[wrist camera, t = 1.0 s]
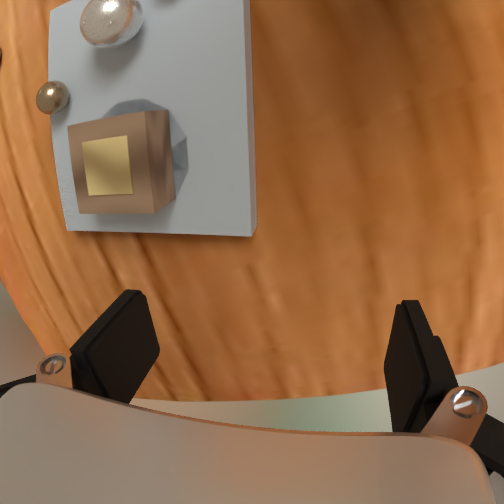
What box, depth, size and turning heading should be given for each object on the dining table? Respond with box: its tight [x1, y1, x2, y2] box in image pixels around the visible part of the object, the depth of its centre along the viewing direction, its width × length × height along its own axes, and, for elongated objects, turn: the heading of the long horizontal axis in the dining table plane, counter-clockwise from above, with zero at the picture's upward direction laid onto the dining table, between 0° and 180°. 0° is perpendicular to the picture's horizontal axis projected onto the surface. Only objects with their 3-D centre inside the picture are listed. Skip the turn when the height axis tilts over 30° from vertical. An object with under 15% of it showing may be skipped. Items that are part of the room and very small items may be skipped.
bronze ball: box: [36, 80, 69, 115], centre depth 26 cm, size 4×4×4 cm
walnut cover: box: [67, 110, 176, 214], centre depth 27 cm, size 9×9×5 cm
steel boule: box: [79, 0, 144, 49], centre depth 21 cm, size 6×6×6 cm
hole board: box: [48, 0, 257, 237], centre depth 29 cm, size 28×23×3 cm
